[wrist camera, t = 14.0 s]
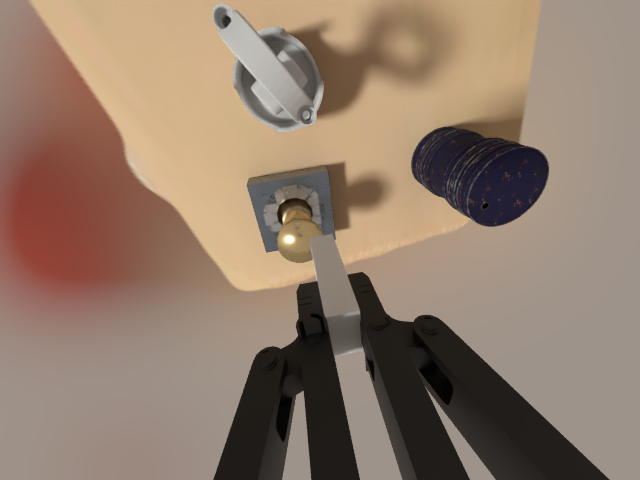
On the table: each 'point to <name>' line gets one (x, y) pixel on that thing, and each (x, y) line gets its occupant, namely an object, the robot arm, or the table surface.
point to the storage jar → (480, 174)
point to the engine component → (271, 72)
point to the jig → (285, 186)
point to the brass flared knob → (297, 231)
